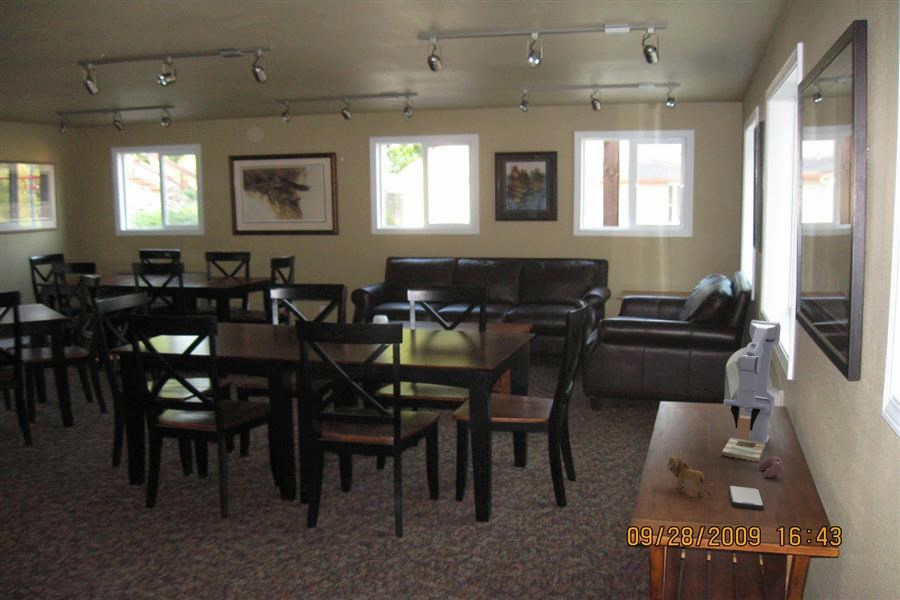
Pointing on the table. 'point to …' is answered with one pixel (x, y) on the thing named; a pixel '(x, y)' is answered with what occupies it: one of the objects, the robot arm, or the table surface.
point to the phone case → (746, 497)
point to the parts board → (744, 449)
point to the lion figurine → (686, 474)
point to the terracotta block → (744, 427)
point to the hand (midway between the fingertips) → (744, 428)
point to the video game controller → (771, 466)
